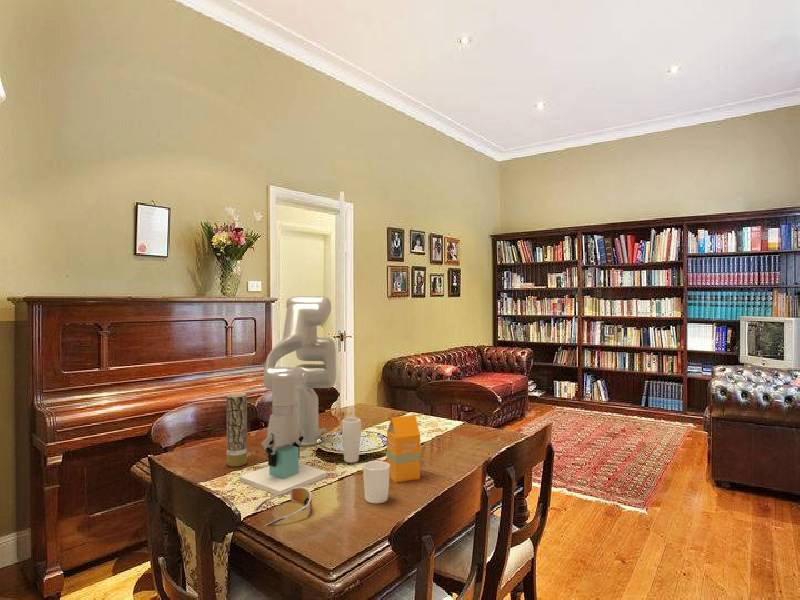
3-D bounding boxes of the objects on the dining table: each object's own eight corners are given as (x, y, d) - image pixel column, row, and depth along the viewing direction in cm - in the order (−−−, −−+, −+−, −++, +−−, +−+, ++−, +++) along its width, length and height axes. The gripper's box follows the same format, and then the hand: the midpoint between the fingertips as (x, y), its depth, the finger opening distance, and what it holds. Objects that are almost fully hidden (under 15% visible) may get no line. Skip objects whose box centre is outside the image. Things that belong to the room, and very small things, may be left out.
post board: (287, 463, 174) (287, 459, 174) (327, 476, 162) (327, 471, 162) (239, 480, 158) (239, 476, 158) (280, 496, 146) (280, 491, 146)
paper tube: (240, 468, 170) (240, 396, 169) (222, 466, 171) (222, 395, 171) (250, 461, 176) (250, 392, 176) (233, 460, 178) (233, 391, 178)
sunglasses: (321, 514, 135) (319, 497, 134) (268, 537, 126) (265, 519, 126) (301, 497, 147) (299, 481, 146) (251, 516, 138) (249, 499, 138)
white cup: (379, 506, 140) (380, 471, 139) (357, 500, 144) (357, 466, 144) (394, 497, 146) (394, 463, 146) (373, 491, 150) (373, 459, 150)
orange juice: (386, 474, 165) (386, 415, 164) (410, 470, 168) (410, 412, 168) (395, 482, 157) (395, 420, 157) (420, 478, 161) (420, 417, 161)
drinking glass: (363, 458, 180) (363, 418, 180) (356, 465, 173) (356, 422, 173) (346, 456, 182) (347, 416, 182) (338, 462, 176) (338, 421, 175)
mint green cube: (285, 469, 165) (285, 443, 165) (298, 473, 161) (298, 447, 161) (269, 474, 160) (269, 448, 160) (282, 479, 156) (282, 452, 156)
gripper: (296, 403, 169) (296, 452, 170) (254, 413, 155) (255, 466, 156) (311, 406, 165) (311, 456, 165) (270, 417, 151) (270, 472, 152)
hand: (284, 461), depth 161 cm, fingers open, 9 cm apart
